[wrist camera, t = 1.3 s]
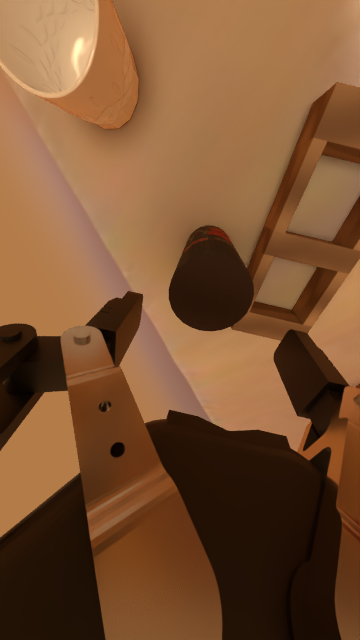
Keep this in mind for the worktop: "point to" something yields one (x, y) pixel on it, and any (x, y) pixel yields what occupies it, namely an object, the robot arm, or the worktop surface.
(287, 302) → the worktop surface
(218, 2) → the worktop surface
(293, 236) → the wooden divided tray
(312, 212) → the worktop surface
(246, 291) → the deodorant
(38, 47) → the white cup
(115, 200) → the worktop surface
